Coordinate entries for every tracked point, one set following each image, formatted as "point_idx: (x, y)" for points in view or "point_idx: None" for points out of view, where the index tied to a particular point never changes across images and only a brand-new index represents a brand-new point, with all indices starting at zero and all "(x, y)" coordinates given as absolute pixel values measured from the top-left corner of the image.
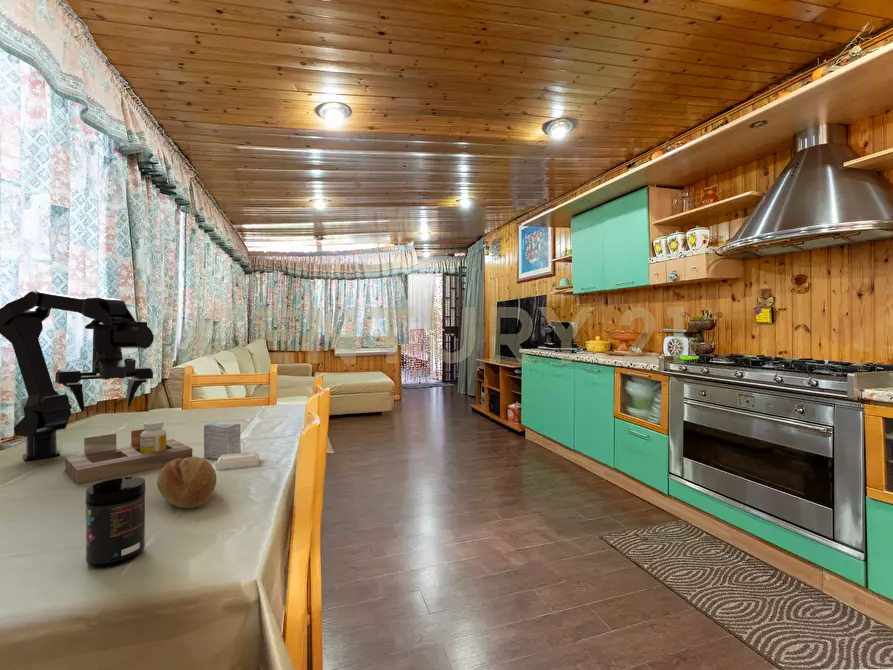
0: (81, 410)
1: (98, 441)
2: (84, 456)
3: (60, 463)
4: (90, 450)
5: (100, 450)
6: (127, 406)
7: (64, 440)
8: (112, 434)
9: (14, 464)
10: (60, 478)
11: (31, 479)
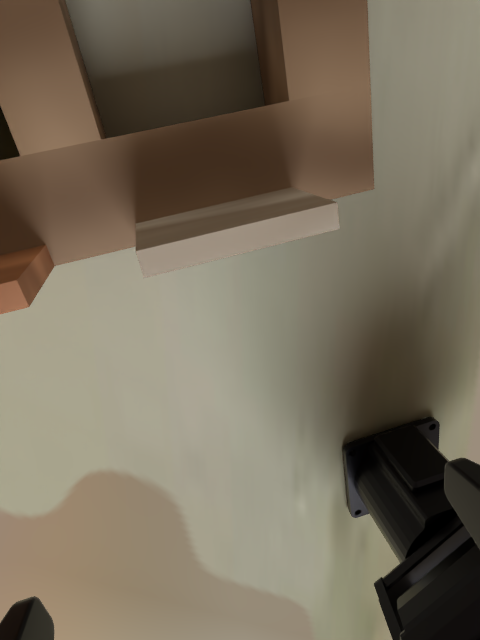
0: (468, 461)
1: (244, 216)
2: (294, 134)
3: (348, 324)
4: (272, 195)
5: (220, 207)
6: (39, 603)
7: (320, 633)
8: (162, 242)
9: (460, 393)
10: None
11: (455, 94)
